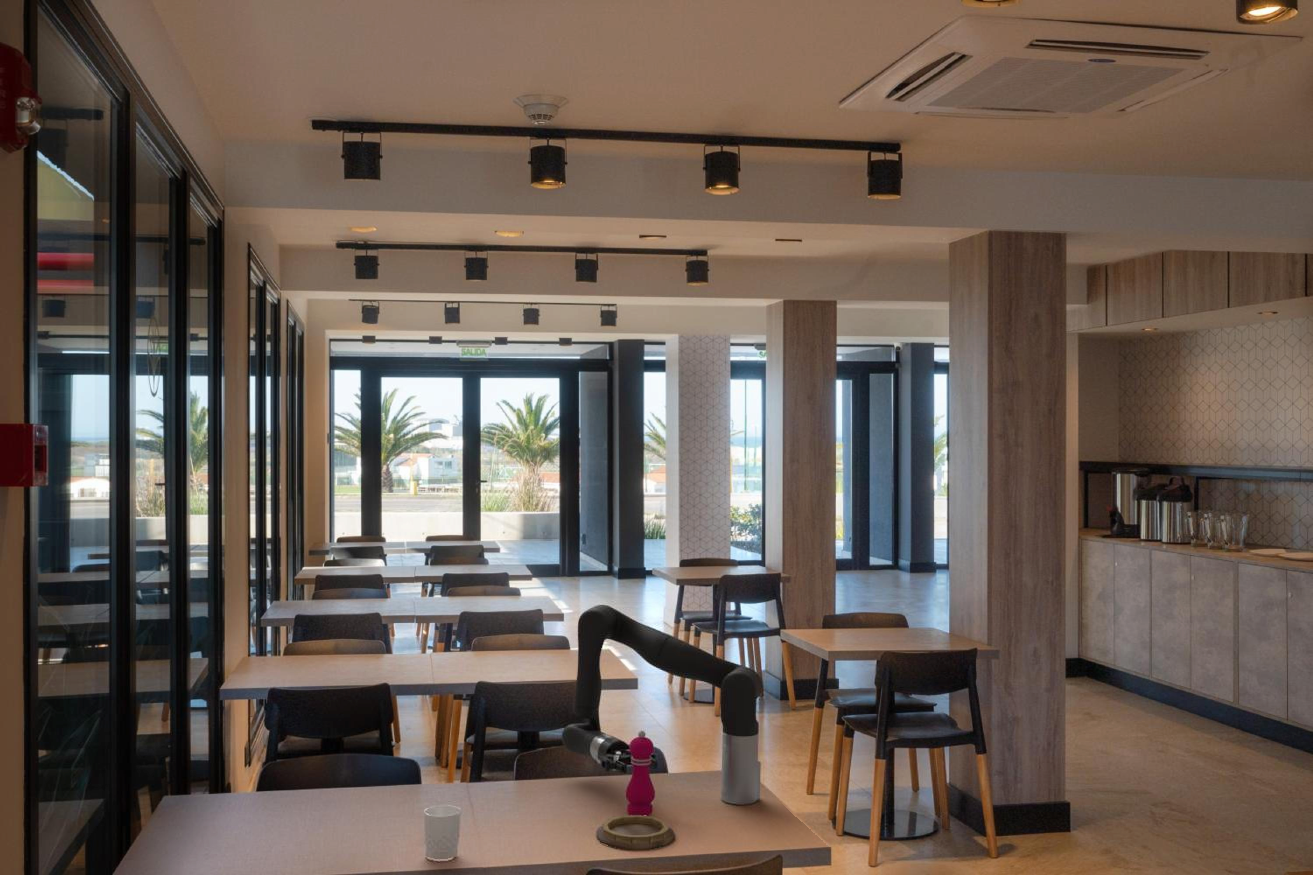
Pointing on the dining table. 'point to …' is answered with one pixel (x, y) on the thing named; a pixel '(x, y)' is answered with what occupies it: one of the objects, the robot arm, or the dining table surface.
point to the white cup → (442, 831)
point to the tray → (635, 832)
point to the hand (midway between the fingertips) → (640, 767)
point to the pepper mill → (640, 777)
